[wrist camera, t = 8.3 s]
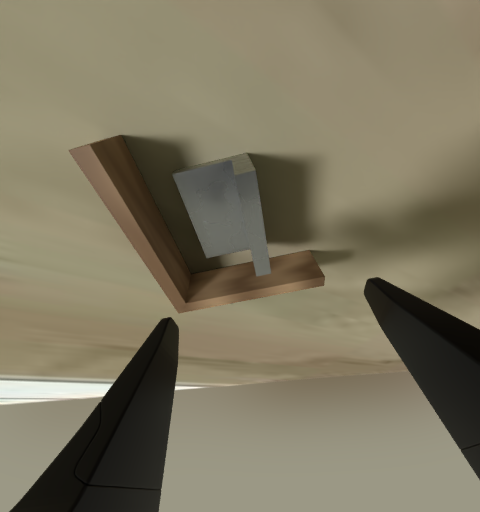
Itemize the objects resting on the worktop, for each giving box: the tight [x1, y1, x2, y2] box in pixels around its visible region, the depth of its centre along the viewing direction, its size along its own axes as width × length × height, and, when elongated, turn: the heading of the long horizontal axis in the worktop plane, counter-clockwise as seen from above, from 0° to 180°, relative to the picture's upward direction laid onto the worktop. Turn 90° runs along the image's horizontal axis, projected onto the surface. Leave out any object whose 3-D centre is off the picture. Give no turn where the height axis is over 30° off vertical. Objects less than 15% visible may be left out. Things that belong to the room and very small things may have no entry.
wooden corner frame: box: [68, 135, 325, 313], centre depth 16 cm, size 14×15×4 cm
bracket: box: [172, 153, 271, 277], centre depth 15 cm, size 8×6×5 cm
